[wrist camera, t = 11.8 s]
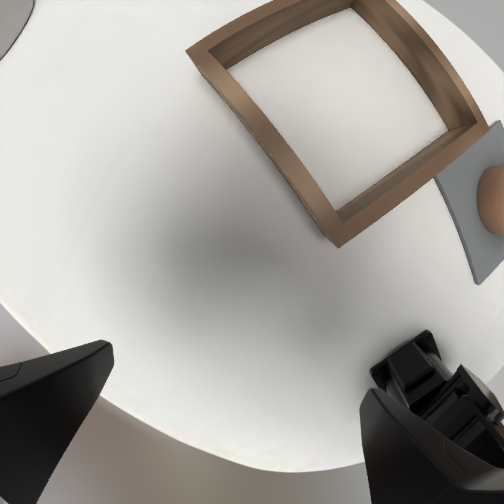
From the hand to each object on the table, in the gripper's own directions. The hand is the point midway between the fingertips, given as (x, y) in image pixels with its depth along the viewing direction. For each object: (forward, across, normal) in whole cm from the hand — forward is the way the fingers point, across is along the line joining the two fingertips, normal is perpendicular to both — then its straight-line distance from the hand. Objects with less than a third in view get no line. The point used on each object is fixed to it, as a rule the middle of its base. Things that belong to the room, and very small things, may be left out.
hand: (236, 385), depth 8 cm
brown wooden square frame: (+12, -4, -14) cm, 19 cm away
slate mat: (+12, -20, -10) cm, 25 cm away
